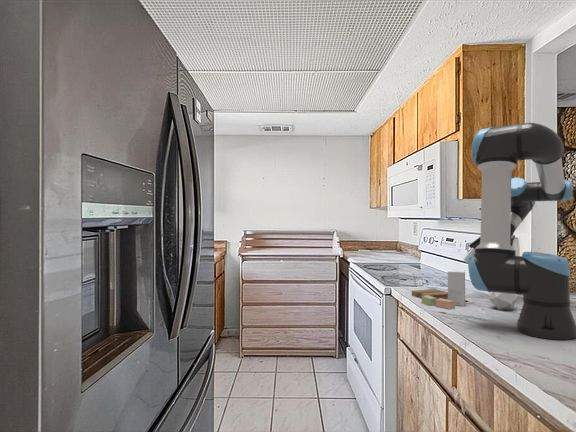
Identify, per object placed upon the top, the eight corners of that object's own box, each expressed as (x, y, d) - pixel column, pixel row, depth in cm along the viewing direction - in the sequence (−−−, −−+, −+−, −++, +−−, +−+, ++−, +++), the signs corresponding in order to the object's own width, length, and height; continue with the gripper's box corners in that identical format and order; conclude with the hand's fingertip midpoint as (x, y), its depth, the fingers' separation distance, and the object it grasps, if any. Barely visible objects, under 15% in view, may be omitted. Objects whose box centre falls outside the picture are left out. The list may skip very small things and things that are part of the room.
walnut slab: (453, 298, 168) (453, 293, 168) (428, 300, 165) (428, 295, 165) (435, 293, 180) (435, 288, 180) (411, 295, 176) (411, 290, 176)
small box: (465, 306, 154) (465, 272, 154) (447, 305, 157) (447, 271, 157) (465, 302, 162) (464, 269, 162) (448, 300, 164) (447, 268, 164)
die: (515, 314, 144) (524, 291, 147) (493, 301, 145) (502, 279, 148) (504, 317, 151) (512, 294, 154) (482, 305, 153) (491, 283, 156)
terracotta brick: (454, 308, 151) (454, 300, 151) (449, 310, 150) (449, 301, 150) (440, 306, 156) (440, 298, 156) (435, 307, 155) (435, 299, 155)
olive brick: (436, 305, 157) (436, 298, 157) (430, 306, 156) (429, 298, 156) (428, 302, 162) (428, 295, 162) (421, 303, 162) (421, 295, 162)
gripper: (538, 232, 156) (508, 273, 151) (489, 230, 179) (461, 265, 175) (527, 218, 154) (496, 260, 150) (479, 218, 178) (451, 254, 174)
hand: (477, 263), depth 162 cm, fingers open, 13 cm apart
